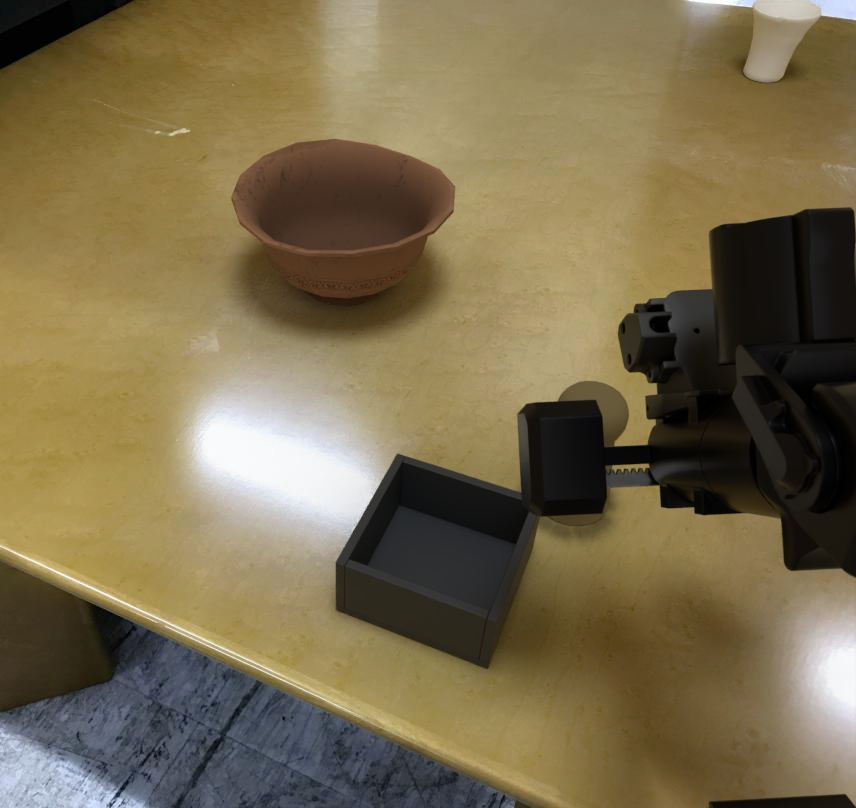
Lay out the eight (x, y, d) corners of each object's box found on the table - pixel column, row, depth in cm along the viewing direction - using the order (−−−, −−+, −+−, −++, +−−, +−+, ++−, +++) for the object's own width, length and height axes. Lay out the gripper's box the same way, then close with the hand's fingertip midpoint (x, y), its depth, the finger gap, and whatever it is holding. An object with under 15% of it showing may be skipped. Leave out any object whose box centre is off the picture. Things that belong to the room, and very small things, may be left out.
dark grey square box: (532, 548, 69) (544, 499, 65) (487, 669, 61) (497, 622, 57) (394, 501, 72) (397, 452, 69) (335, 609, 65) (335, 562, 61)
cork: (593, 537, 69) (624, 436, 62) (520, 506, 72) (540, 405, 64) (618, 487, 73) (650, 386, 65) (548, 459, 75) (570, 358, 68)
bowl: (385, 208, 106) (388, 120, 98) (489, 308, 91) (502, 213, 84) (209, 256, 99) (199, 165, 92) (291, 372, 84) (286, 275, 77)
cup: (725, 81, 130) (747, 10, 123) (740, 59, 135) (761, -11, 129) (790, 94, 126) (816, 21, 119) (803, 70, 132) (828, 0, 125)
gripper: (943, 274, 43) (771, 318, 58) (552, 291, 42) (484, 331, 58) (960, 510, 42) (782, 490, 58) (566, 529, 42) (493, 504, 57)
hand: (635, 449), depth 58 cm, fingers open, 9 cm apart
